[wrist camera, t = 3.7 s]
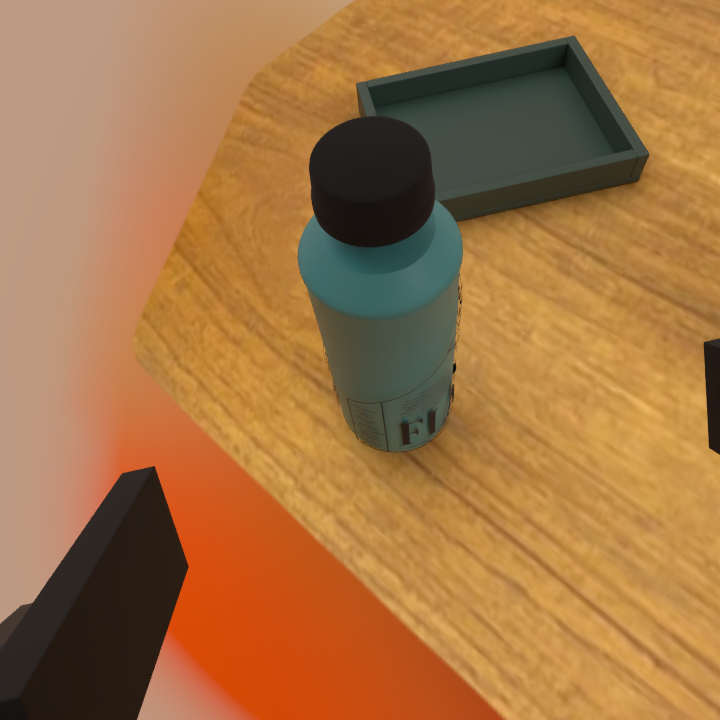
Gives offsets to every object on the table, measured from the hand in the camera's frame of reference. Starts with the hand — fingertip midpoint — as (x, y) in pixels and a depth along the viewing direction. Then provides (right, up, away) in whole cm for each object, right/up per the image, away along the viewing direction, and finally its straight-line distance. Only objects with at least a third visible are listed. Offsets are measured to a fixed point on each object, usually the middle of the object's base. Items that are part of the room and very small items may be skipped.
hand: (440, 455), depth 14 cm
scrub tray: (+8, +19, +32) cm, 38 cm away
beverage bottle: (0, -1, +22) cm, 22 cm away
